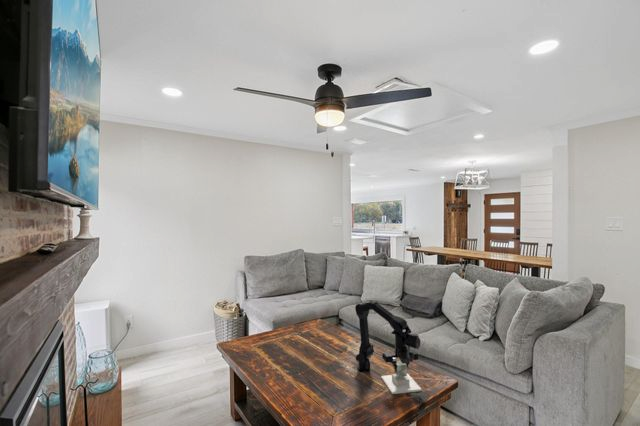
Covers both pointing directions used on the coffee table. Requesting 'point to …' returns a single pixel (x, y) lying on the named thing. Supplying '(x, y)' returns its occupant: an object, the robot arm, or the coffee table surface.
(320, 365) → the coffee table surface
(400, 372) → the sage block
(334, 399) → the coffee table surface
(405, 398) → the coffee table surface
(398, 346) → the robot arm
